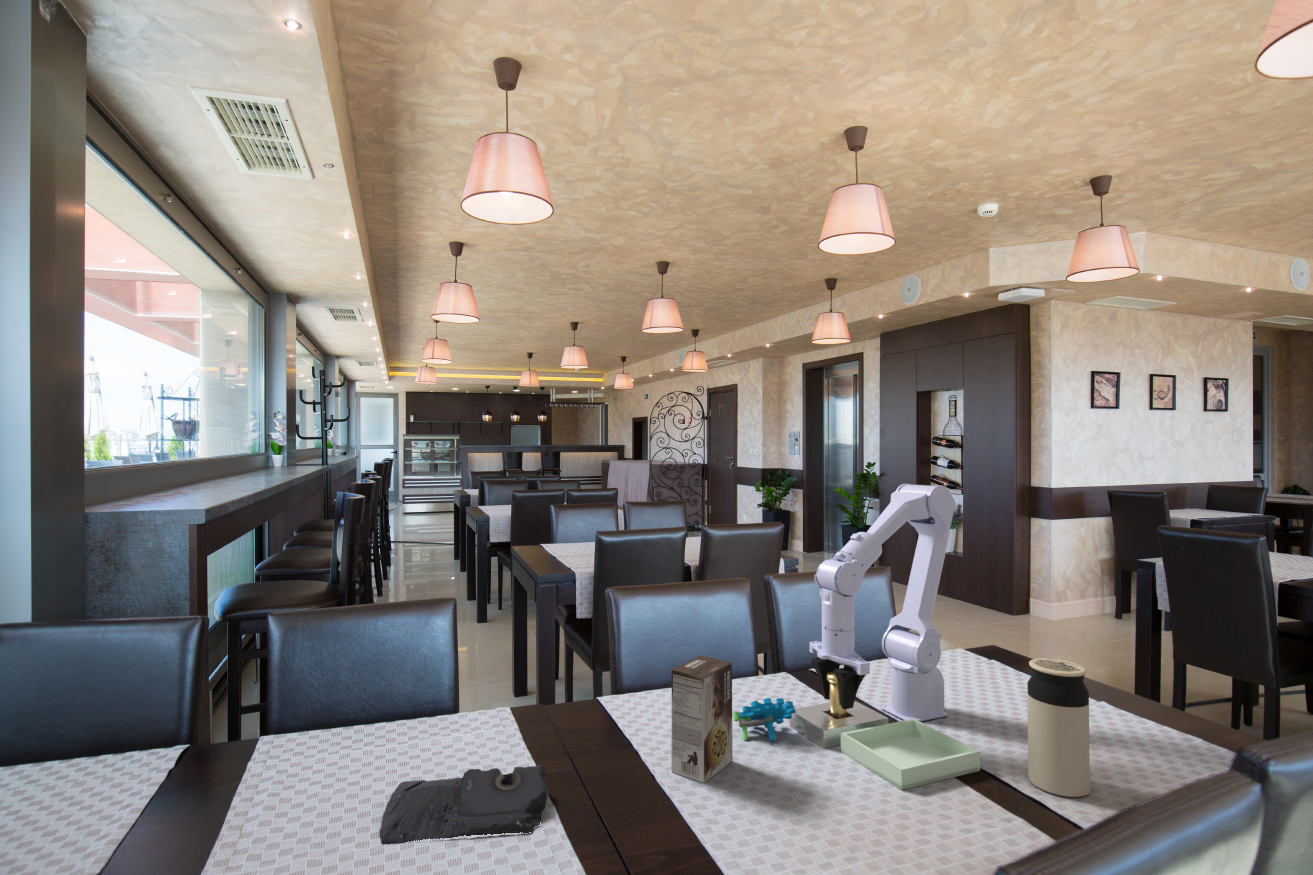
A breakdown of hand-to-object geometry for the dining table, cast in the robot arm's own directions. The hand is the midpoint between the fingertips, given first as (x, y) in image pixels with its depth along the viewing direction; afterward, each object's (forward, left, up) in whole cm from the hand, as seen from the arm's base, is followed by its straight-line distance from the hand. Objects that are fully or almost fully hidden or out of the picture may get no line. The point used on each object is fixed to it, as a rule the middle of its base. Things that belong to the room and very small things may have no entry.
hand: (838, 702), depth 120 cm
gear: (+13, -4, -5) cm, 15 cm away
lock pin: (0, 0, -5) cm, 5 cm away
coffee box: (+29, +3, -5) cm, 30 cm away
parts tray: (-3, +14, -5) cm, 15 cm away
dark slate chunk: (+65, +2, -6) cm, 65 cm away
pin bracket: (0, 0, -5) cm, 5 cm away
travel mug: (-18, +29, -5) cm, 35 cm away
